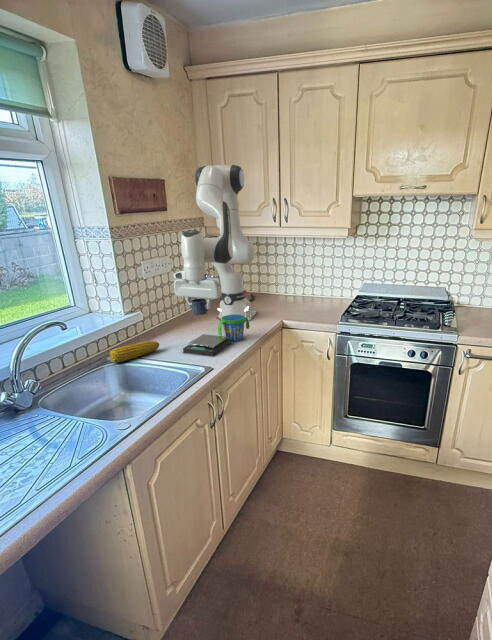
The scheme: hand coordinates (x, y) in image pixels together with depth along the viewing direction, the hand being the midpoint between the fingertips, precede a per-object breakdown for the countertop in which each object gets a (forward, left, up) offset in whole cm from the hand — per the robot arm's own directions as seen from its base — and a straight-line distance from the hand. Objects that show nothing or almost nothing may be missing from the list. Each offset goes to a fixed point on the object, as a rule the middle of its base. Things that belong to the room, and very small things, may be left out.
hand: (199, 308), depth 168 cm
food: (+19, -21, -17) cm, 33 cm away
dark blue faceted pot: (0, 0, -2) cm, 2 cm away
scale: (+1, +2, -17) cm, 17 cm away
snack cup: (-13, +8, -17) cm, 23 cm away
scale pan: (0, +2, -14) cm, 15 cm away
